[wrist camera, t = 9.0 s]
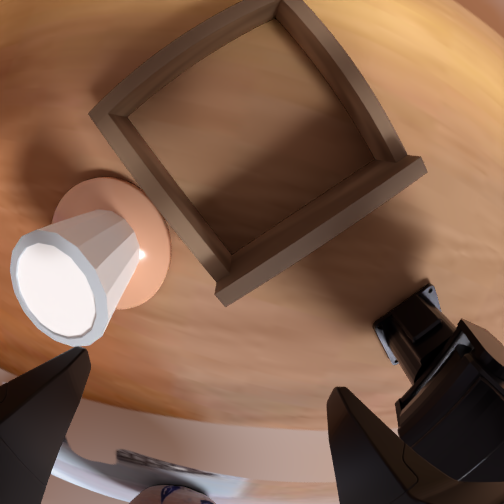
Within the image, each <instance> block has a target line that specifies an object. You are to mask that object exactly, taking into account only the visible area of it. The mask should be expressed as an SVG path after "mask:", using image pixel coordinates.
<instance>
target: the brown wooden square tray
mask: <svg viewBox="0 0 504 504" xmlns="http://www.w3.org/2000/svg"><path fill="white" fill-rule="evenodd" d="M274 18H276V19H277V20H278V21H279V22H280V23H281V24H282V25H283V26H284V28H285V29H286V30H287V31H288V32H289V33H290V35H291V36H292V37H293V38H294V39H295V41H296V42H297V43H298V44H299V45H300V47H301V48H302V49H303V50H304V52H305V53H306V54H307V55H308V57H309V58H310V59H311V61H312V62H313V63H314V64H315V66H316V67H317V68H318V70H319V71H320V73H321V74H322V75H323V77H324V78H325V79H326V81H327V82H328V84H329V85H330V87H331V88H332V89H333V91H334V92H335V94H336V95H337V97H338V98H339V100H340V101H341V103H342V104H343V106H344V107H345V109H346V111H347V112H348V114H349V115H350V117H351V118H352V120H353V122H354V123H355V125H356V127H357V128H358V130H359V132H360V133H361V135H362V137H363V138H364V140H365V142H366V144H367V145H368V147H369V149H370V151H371V153H372V154H373V156H374V158H375V160H374V161H372V162H371V163H369V164H368V165H366V166H365V167H363V168H362V169H360V170H359V171H357V172H355V173H354V174H352V175H351V176H349V177H348V178H346V179H345V180H343V181H342V182H340V183H339V184H337V185H336V186H334V187H333V188H331V189H330V190H328V191H327V192H325V193H324V194H322V195H321V196H319V197H318V198H316V199H315V200H313V201H312V202H310V203H309V204H307V205H306V206H304V207H303V208H301V209H300V210H298V211H297V212H295V213H294V214H292V215H291V216H289V217H288V218H286V219H285V220H283V221H282V222H280V223H279V224H277V225H276V226H274V227H273V228H271V229H270V230H268V231H267V232H265V233H264V234H262V235H261V236H259V237H258V238H256V239H255V240H253V241H252V242H250V243H249V244H248V245H246V246H245V247H243V248H242V249H240V250H239V251H237V252H236V253H234V254H233V255H231V254H230V252H229V251H228V250H227V249H226V247H225V246H224V245H223V243H222V242H221V241H220V240H219V238H218V237H217V236H216V234H215V233H214V232H213V231H212V229H211V228H210V227H209V225H208V224H207V223H206V222H205V220H204V219H203V218H202V216H201V215H200V214H199V212H198V211H197V210H196V209H195V207H194V206H193V205H192V203H191V202H190V201H189V199H188V198H187V197H186V195H185V194H184V193H183V192H182V190H181V189H180V188H179V186H178V185H177V184H176V182H175V181H174V180H173V178H172V177H171V176H170V174H169V173H168V172H167V170H166V169H165V168H164V166H163V165H162V164H161V162H160V161H159V160H158V158H157V157H156V156H155V154H154V153H153V152H152V150H151V149H150V148H149V146H148V145H147V144H146V142H145V141H144V140H143V138H142V137H141V136H140V134H139V133H138V132H137V130H136V129H135V128H134V126H133V125H132V123H131V122H130V121H129V119H128V118H127V117H128V116H129V115H130V114H131V113H132V112H133V111H135V110H136V109H137V108H138V107H139V106H140V105H142V104H143V103H144V102H145V101H146V100H148V99H149V98H150V97H151V96H152V95H154V94H155V93H156V92H157V91H159V90H160V89H161V88H163V87H164V86H165V85H166V84H168V83H169V82H170V81H172V80H173V79H174V78H176V77H177V76H179V75H180V74H181V73H183V72H184V71H185V70H187V69H188V68H190V67H191V66H193V65H194V64H196V63H197V62H199V61H200V60H202V59H203V58H205V57H206V56H208V55H209V54H211V53H212V52H214V51H216V50H217V49H219V48H220V47H222V46H224V45H225V44H227V43H229V42H231V41H232V40H234V39H236V38H238V37H239V36H241V35H243V34H245V33H247V32H248V31H250V30H252V29H254V28H256V27H258V26H260V25H262V24H264V23H266V22H268V21H270V20H272V19H274ZM88 115H89V116H90V117H91V119H92V120H93V122H94V123H95V125H96V126H97V128H98V129H99V130H100V132H101V133H102V135H103V136H104V138H105V139H106V140H107V142H108V143H109V145H110V146H111V147H112V149H113V150H114V152H115V153H116V154H117V156H118V157H119V158H120V160H121V161H122V163H123V164H124V165H125V167H126V168H127V169H128V171H129V172H130V173H131V175H132V176H133V177H134V179H135V180H136V182H137V183H138V184H139V186H140V187H141V188H142V189H143V191H144V192H145V193H146V195H147V196H148V197H149V199H150V200H151V201H152V203H153V204H154V205H155V207H156V208H157V209H158V210H159V212H160V213H161V214H162V216H163V217H164V218H165V219H166V221H167V222H168V223H169V224H170V226H171V227H172V228H173V230H174V231H175V232H176V233H177V235H178V236H179V237H180V238H181V240H182V241H183V242H184V243H185V245H186V246H187V247H188V248H189V250H190V251H191V252H192V253H193V254H194V256H195V257H196V258H197V259H198V261H199V262H200V263H201V264H202V265H203V267H204V268H205V269H206V270H207V271H208V273H209V274H210V275H211V276H212V277H213V279H214V280H215V281H216V282H217V283H216V289H215V296H216V297H217V298H218V299H219V300H220V301H221V303H222V304H223V305H224V306H225V307H227V306H228V305H230V304H232V303H233V302H235V301H236V300H238V299H240V298H241V297H243V296H244V295H246V294H248V293H249V292H251V291H252V290H254V289H256V288H257V287H259V286H260V285H262V284H263V283H265V282H267V281H268V280H270V279H271V278H273V277H274V276H276V275H278V274H279V273H281V272H282V271H284V270H285V269H287V268H288V267H290V266H292V265H293V264H295V263H296V262H298V261H299V260H301V259H302V258H304V257H305V256H307V255H308V254H310V253H311V252H313V251H314V250H316V249H318V248H319V247H321V246H322V245H324V244H325V243H327V242H328V241H330V240H331V239H333V238H334V237H336V236H337V235H339V234H340V233H341V232H343V231H344V230H346V229H347V228H349V227H350V226H352V225H353V224H355V223H356V222H358V221H359V220H361V219H362V218H364V217H365V216H366V215H368V214H369V213H371V212H372V211H374V210H375V209H377V208H378V207H379V206H381V205H382V204H384V203H385V202H387V201H388V200H389V199H391V198H392V197H394V196H395V195H397V194H398V193H399V192H401V191H402V190H404V189H405V188H406V187H408V186H409V185H411V184H412V183H413V182H415V181H416V180H418V179H419V178H420V177H422V176H423V175H424V174H426V173H427V169H426V167H425V165H424V162H423V160H422V158H421V157H419V156H411V155H407V153H406V151H405V149H404V147H403V145H402V143H401V141H400V139H399V137H398V135H397V133H396V131H395V129H394V127H393V125H392V124H391V122H390V120H389V118H388V116H387V115H386V113H385V111H384V109H383V108H382V106H381V104H380V103H379V101H378V99H377V98H376V96H375V94H374V93H373V91H372V90H371V88H370V86H369V85H368V83H367V82H366V80H365V79H364V77H363V76H362V74H361V73H360V71H359V70H358V68H357V67H356V66H355V64H354V63H353V61H352V60H351V58H350V57H349V56H348V54H347V53H346V52H345V50H344V49H343V48H342V46H341V45H340V44H339V42H338V41H337V40H336V39H335V37H334V36H333V35H332V34H331V32H330V31H329V30H328V29H327V27H326V26H325V25H324V24H323V23H322V22H321V20H320V19H319V18H318V17H317V16H316V15H315V13H314V12H313V11H312V10H311V9H310V8H309V7H308V6H307V5H306V4H305V2H304V1H303V0H243V1H241V2H239V3H237V4H235V5H233V6H231V7H229V8H227V9H225V10H223V11H222V12H220V13H218V14H216V15H214V16H213V17H211V18H209V19H207V20H206V21H204V22H202V23H201V24H199V25H197V26H196V27H194V28H193V29H191V30H189V31H188V32H186V33H185V34H183V35H182V36H180V37H179V38H177V39H176V40H174V41H173V42H171V43H170V44H169V45H167V46H166V47H164V48H163V49H162V50H160V51H159V52H158V53H156V54H155V55H154V56H152V57H151V58H150V59H148V60H147V61H146V62H144V63H143V64H142V65H141V66H139V67H138V68H137V69H136V70H135V71H133V72H132V73H131V74H130V75H129V76H127V77H126V78H125V79H124V80H123V81H122V82H120V83H119V84H118V85H117V86H116V87H115V88H114V89H113V90H112V91H110V92H109V93H108V94H107V95H106V96H105V97H104V98H103V99H102V100H101V101H100V102H99V103H98V104H97V105H96V106H95V107H94V108H93V109H92V110H91V111H90V112H89V113H88Z"/></svg>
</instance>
